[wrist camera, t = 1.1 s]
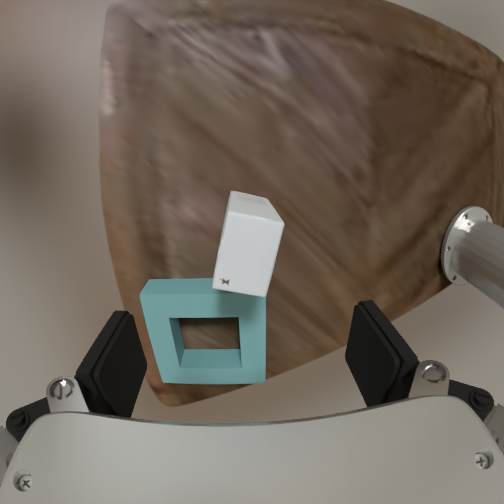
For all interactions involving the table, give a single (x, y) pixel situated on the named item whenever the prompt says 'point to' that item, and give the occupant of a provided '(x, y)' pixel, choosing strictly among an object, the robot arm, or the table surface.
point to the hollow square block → (204, 306)
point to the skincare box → (247, 245)
